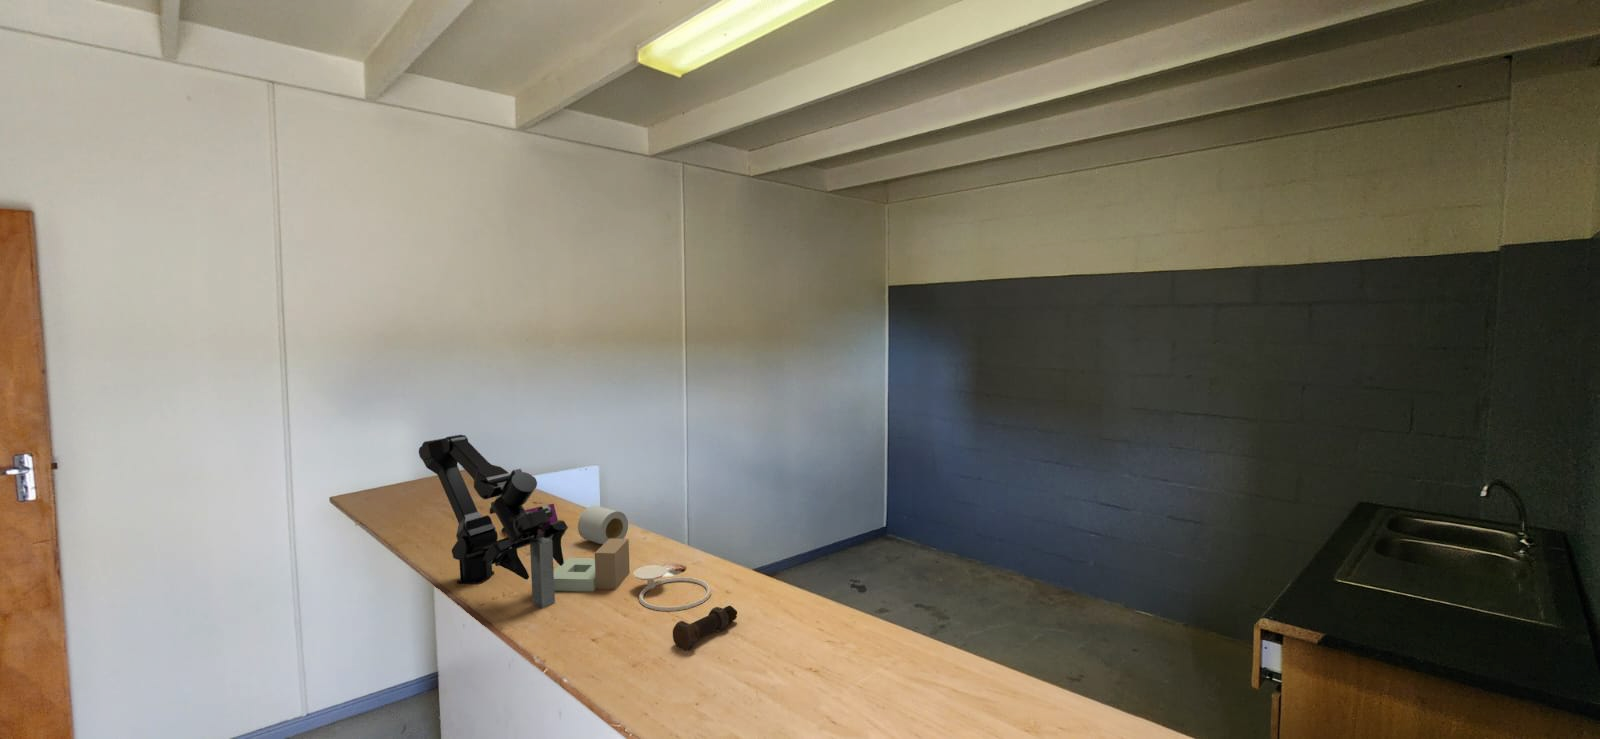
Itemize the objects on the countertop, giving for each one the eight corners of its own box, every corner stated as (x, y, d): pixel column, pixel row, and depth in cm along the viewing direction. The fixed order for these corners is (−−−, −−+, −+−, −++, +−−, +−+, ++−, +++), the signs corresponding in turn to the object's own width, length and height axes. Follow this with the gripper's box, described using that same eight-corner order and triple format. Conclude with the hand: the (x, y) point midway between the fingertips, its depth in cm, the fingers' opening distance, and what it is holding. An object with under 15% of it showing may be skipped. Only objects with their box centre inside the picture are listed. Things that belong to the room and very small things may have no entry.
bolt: (735, 629, 140) (683, 657, 128) (721, 613, 143) (668, 638, 131) (745, 611, 138) (693, 636, 126) (730, 594, 141) (678, 618, 129)
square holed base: (545, 590, 156) (543, 554, 155) (568, 569, 169) (566, 535, 168) (613, 591, 155) (612, 555, 154) (631, 570, 168) (630, 536, 167)
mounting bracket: (507, 551, 199) (529, 538, 187) (501, 524, 201) (522, 510, 189) (537, 542, 206) (560, 530, 194) (531, 517, 207) (553, 503, 196)
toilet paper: (578, 544, 188) (577, 510, 187) (606, 534, 196) (605, 502, 195) (600, 551, 182) (599, 516, 181) (628, 540, 190) (627, 507, 189)
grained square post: (532, 604, 149) (529, 541, 147) (545, 599, 151) (542, 537, 150) (542, 608, 147) (539, 544, 145) (554, 602, 150) (552, 539, 148)
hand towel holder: (677, 600, 141) (611, 580, 152) (678, 620, 142) (612, 598, 152) (725, 573, 156) (662, 556, 166) (725, 590, 156) (662, 573, 167)
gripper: (489, 507, 141) (523, 565, 136) (561, 487, 157) (594, 539, 152) (470, 536, 146) (502, 593, 141) (542, 513, 162) (573, 565, 157)
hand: (545, 571), depth 148 cm, fingers open, 9 cm apart
